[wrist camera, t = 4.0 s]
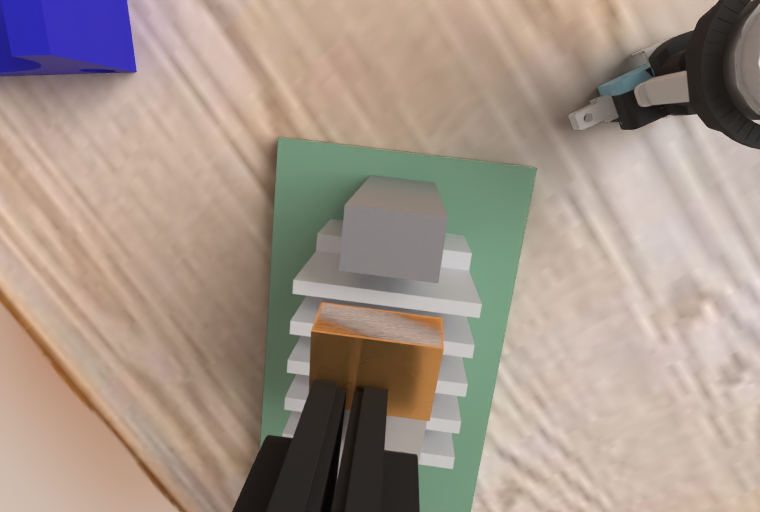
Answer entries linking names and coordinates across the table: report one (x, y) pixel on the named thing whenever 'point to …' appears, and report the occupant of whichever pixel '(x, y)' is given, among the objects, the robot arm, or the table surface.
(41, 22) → the blue cradle bracket
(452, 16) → the table surface
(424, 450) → the board
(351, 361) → the hinged grey bar
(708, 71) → the push button
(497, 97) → the table surface
